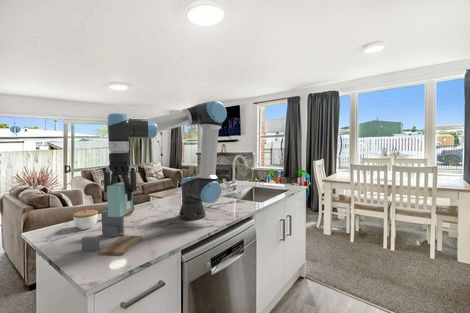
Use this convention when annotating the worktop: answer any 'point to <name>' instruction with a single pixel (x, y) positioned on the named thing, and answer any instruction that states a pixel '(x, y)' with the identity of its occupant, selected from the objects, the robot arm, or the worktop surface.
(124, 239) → the walnut board
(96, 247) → the module cradle
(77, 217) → the lidded jar
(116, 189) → the block
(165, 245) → the worktop surface
